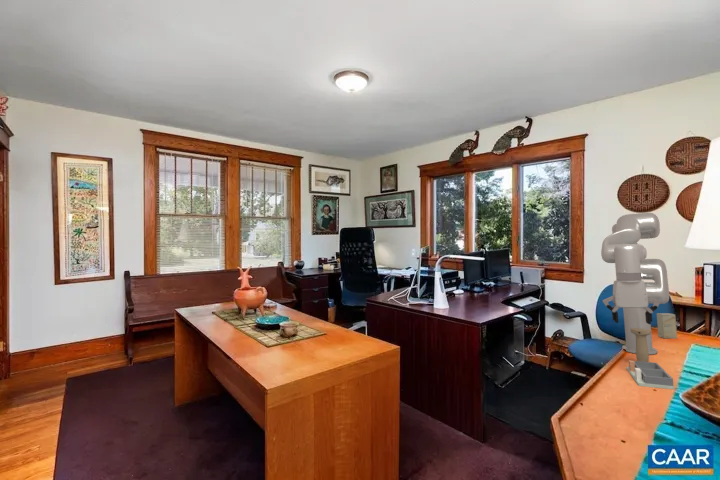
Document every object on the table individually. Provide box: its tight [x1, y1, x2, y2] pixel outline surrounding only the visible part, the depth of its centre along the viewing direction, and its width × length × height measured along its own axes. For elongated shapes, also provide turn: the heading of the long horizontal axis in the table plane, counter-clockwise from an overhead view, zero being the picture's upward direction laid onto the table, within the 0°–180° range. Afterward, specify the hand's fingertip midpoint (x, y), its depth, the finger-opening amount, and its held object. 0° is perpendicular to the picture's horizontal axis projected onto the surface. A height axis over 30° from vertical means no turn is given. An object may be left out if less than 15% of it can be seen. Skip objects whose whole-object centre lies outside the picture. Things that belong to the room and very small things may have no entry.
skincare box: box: [656, 312, 678, 339], centre depth 177 cm, size 6×4×12 cm
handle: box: [630, 328, 652, 362], centre depth 139 cm, size 5×6×15 cm
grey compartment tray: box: [626, 359, 675, 390], centre depth 127 cm, size 18×10×4 cm, turn 153°
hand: (632, 322), depth 130 cm, fingers open, 9 cm apart
